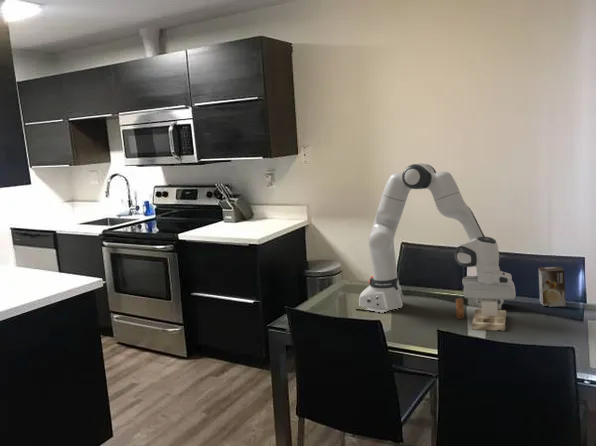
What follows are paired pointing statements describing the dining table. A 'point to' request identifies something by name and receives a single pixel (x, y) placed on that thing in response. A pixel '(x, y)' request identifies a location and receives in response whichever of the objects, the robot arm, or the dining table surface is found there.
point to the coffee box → (552, 286)
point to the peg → (459, 308)
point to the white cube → (489, 307)
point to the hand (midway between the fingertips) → (489, 308)
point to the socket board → (489, 321)
